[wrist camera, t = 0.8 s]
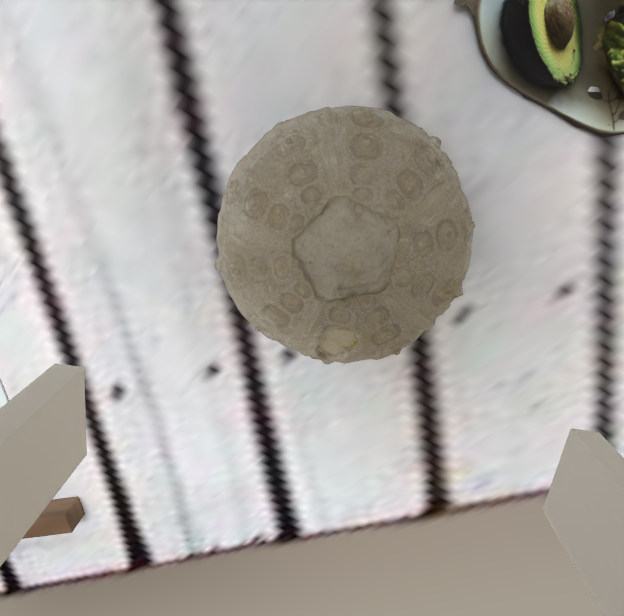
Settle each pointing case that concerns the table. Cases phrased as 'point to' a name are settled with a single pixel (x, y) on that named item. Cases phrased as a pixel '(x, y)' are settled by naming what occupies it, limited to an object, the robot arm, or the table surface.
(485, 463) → the table surface
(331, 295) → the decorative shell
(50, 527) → the strip
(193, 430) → the table surface
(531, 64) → the salad plate
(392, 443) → the table surface
